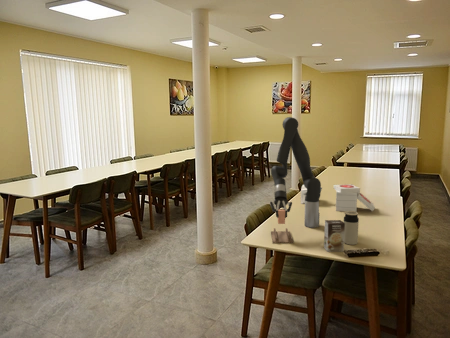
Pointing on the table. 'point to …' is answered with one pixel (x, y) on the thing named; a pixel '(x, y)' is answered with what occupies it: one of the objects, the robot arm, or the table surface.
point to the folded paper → (304, 194)
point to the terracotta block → (281, 216)
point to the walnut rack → (281, 236)
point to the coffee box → (334, 235)
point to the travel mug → (351, 227)
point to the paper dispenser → (350, 198)
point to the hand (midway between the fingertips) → (281, 217)
